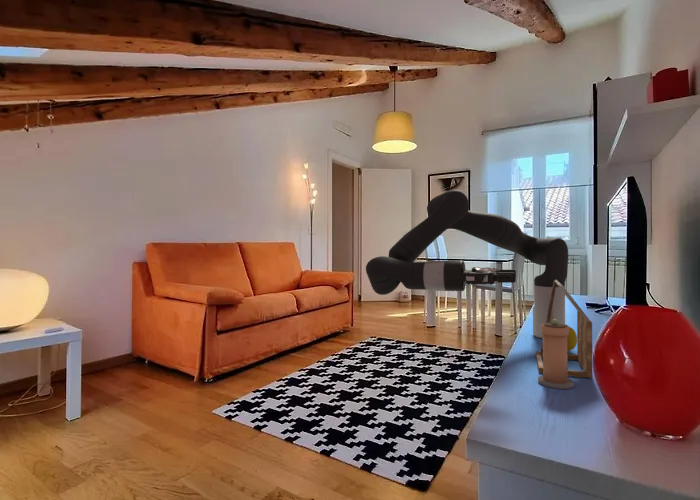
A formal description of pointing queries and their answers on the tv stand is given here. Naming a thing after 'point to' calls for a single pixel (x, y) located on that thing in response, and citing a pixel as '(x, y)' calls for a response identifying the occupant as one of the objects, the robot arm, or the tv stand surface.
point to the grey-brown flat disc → (556, 386)
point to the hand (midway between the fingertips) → (515, 275)
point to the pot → (555, 352)
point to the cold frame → (582, 338)
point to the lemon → (571, 339)
